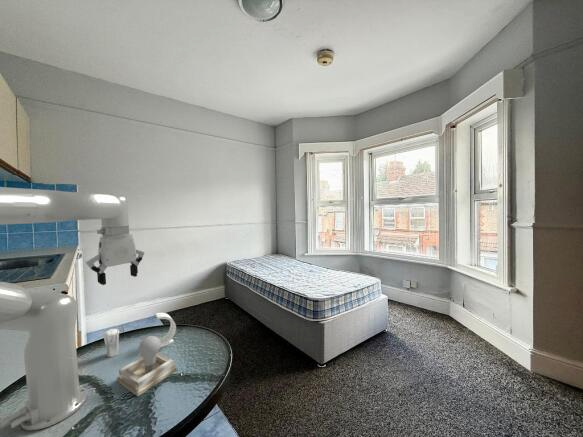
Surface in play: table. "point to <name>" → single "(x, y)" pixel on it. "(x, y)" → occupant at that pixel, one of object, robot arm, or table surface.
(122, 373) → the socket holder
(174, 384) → the table surface
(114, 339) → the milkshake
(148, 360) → the lightbulb
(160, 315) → the white curved piece
